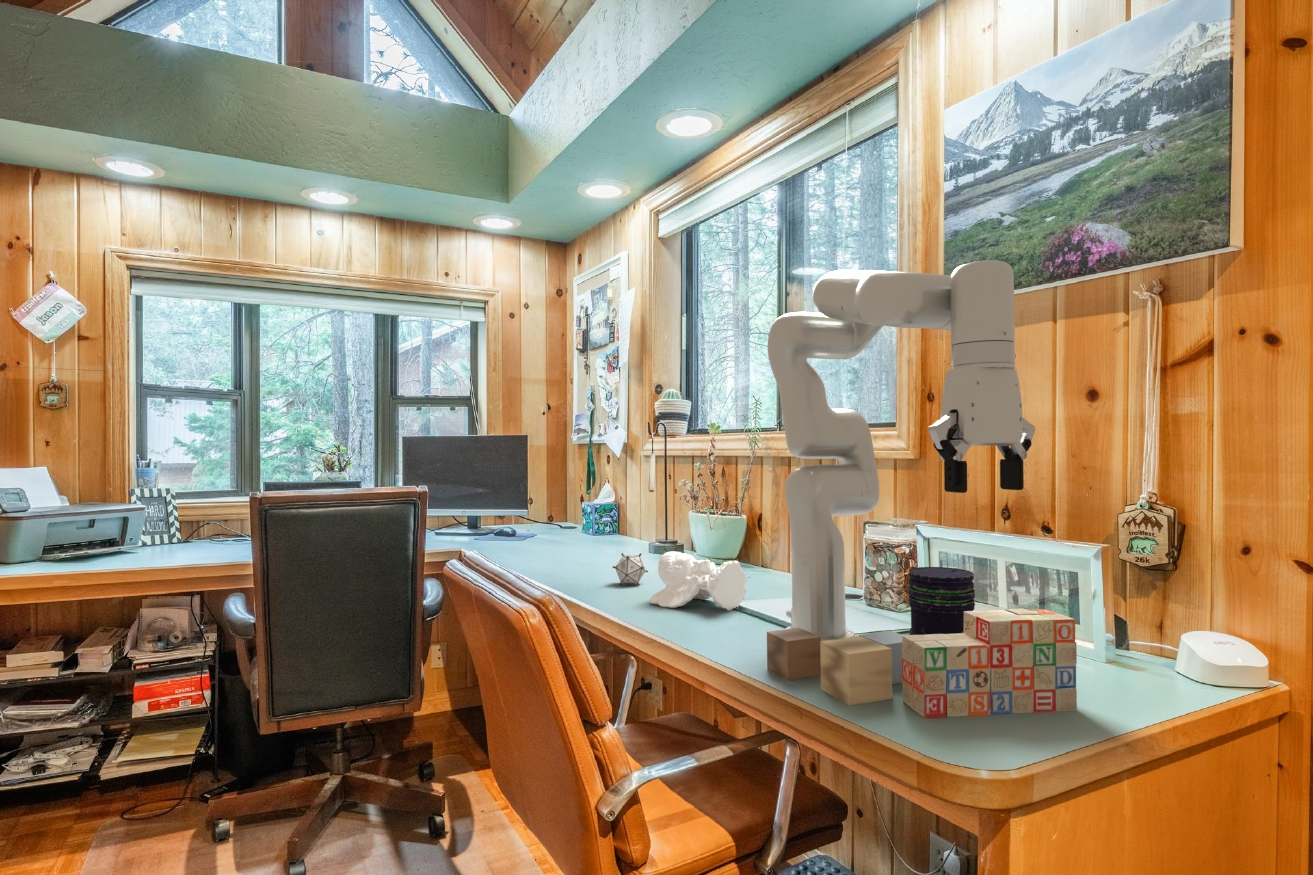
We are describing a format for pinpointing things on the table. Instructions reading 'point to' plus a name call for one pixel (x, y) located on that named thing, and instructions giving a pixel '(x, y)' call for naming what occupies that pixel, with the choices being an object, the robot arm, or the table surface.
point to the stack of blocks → (993, 665)
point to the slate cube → (895, 643)
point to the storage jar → (939, 599)
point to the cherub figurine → (699, 581)
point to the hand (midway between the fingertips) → (984, 490)
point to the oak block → (856, 670)
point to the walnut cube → (793, 653)
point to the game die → (630, 569)
